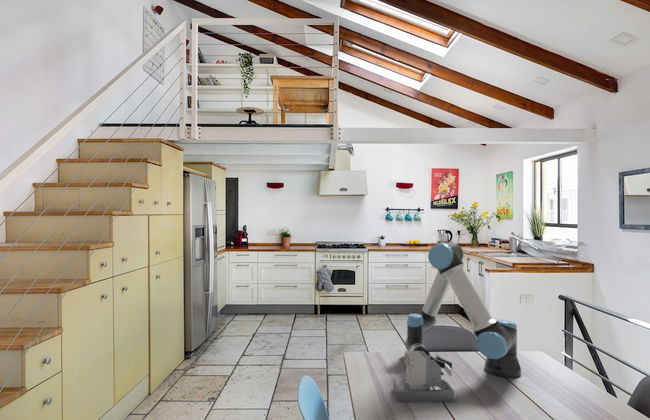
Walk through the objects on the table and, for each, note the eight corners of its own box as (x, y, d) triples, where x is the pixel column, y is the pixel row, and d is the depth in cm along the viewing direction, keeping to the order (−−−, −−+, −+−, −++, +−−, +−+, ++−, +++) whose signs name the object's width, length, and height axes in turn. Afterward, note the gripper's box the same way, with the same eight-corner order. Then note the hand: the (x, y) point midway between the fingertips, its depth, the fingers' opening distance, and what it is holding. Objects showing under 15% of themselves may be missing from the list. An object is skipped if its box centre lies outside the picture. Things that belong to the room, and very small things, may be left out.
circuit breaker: (444, 396, 147) (445, 357, 147) (409, 396, 146) (410, 358, 146) (437, 387, 154) (438, 350, 155) (403, 387, 153) (404, 351, 153)
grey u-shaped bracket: (446, 390, 151) (446, 380, 151) (454, 402, 142) (454, 391, 142) (392, 390, 151) (392, 380, 151) (397, 401, 142) (397, 391, 142)
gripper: (446, 362, 176) (464, 382, 154) (393, 361, 175) (404, 381, 154) (446, 346, 176) (464, 364, 154) (393, 345, 175) (404, 363, 154)
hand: (434, 373), depth 154 cm, fingers open, 13 cm apart
